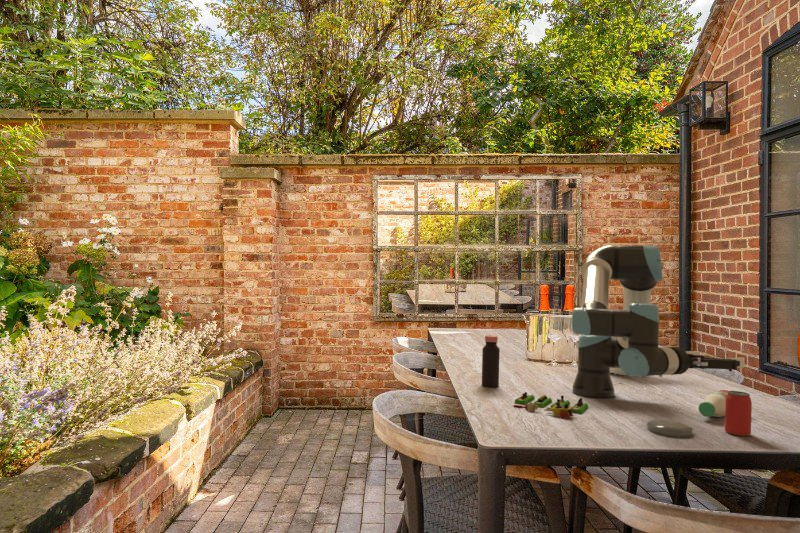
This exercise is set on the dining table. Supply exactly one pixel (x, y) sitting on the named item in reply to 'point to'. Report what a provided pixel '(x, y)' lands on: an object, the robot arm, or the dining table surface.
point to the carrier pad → (669, 428)
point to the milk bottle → (714, 404)
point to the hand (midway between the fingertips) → (720, 359)
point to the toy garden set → (557, 408)
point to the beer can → (738, 413)
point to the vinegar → (490, 362)
